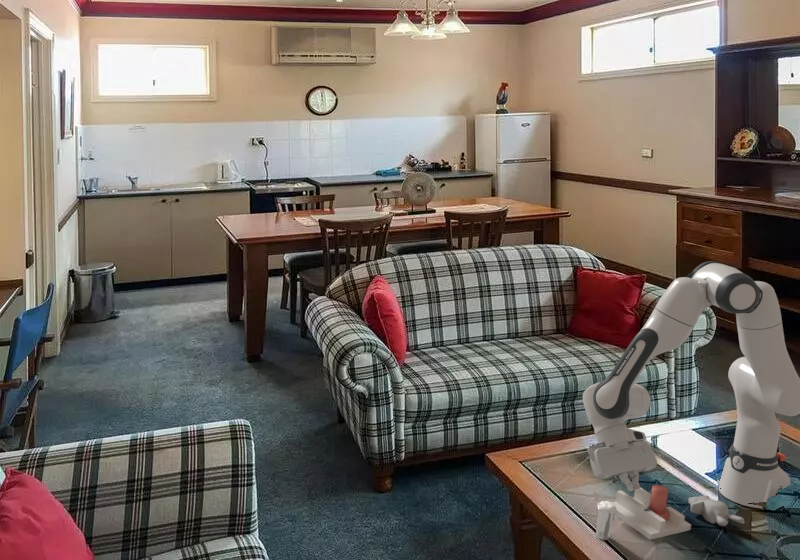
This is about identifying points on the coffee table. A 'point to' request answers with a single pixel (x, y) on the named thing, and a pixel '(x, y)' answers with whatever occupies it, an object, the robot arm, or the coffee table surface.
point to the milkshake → (604, 519)
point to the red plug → (659, 501)
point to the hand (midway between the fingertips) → (634, 489)
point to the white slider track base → (648, 515)
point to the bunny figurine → (712, 510)
